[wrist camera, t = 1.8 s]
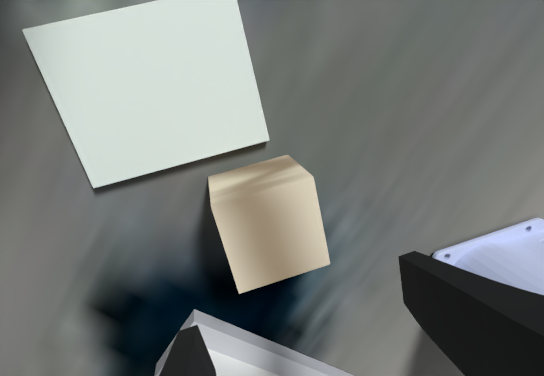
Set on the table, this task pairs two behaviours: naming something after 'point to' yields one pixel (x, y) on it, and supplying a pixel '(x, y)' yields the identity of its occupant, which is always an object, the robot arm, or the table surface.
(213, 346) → the divider screen
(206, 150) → the sage pad
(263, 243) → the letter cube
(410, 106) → the table surface
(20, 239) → the table surface
